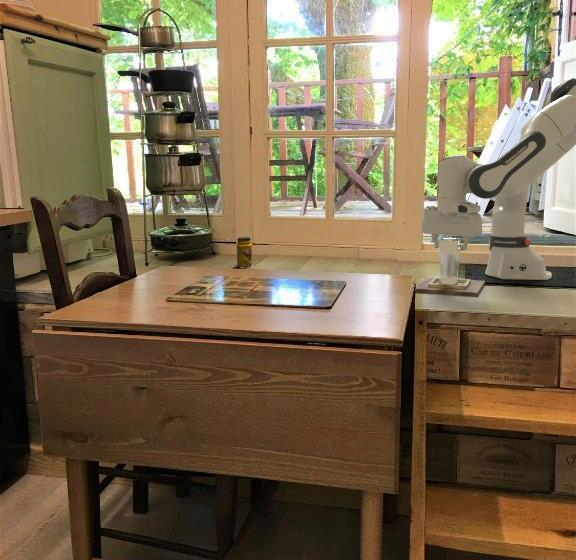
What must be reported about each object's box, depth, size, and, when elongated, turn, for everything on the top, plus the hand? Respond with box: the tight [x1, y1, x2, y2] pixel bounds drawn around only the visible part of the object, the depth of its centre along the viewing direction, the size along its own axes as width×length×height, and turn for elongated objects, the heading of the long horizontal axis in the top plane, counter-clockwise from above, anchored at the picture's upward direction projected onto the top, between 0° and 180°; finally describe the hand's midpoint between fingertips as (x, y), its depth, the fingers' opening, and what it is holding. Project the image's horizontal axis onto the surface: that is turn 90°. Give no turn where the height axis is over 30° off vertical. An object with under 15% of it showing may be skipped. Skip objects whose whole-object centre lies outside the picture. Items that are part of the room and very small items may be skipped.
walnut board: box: [415, 276, 486, 297], centre depth 204 cm, size 20×20×2 cm
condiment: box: [232, 236, 255, 269], centre depth 251 cm, size 7×8×12 cm
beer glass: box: [438, 237, 462, 285], centre depth 202 cm, size 7×7×15 cm
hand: (450, 249), depth 202 cm, fingers open, 8 cm apart
